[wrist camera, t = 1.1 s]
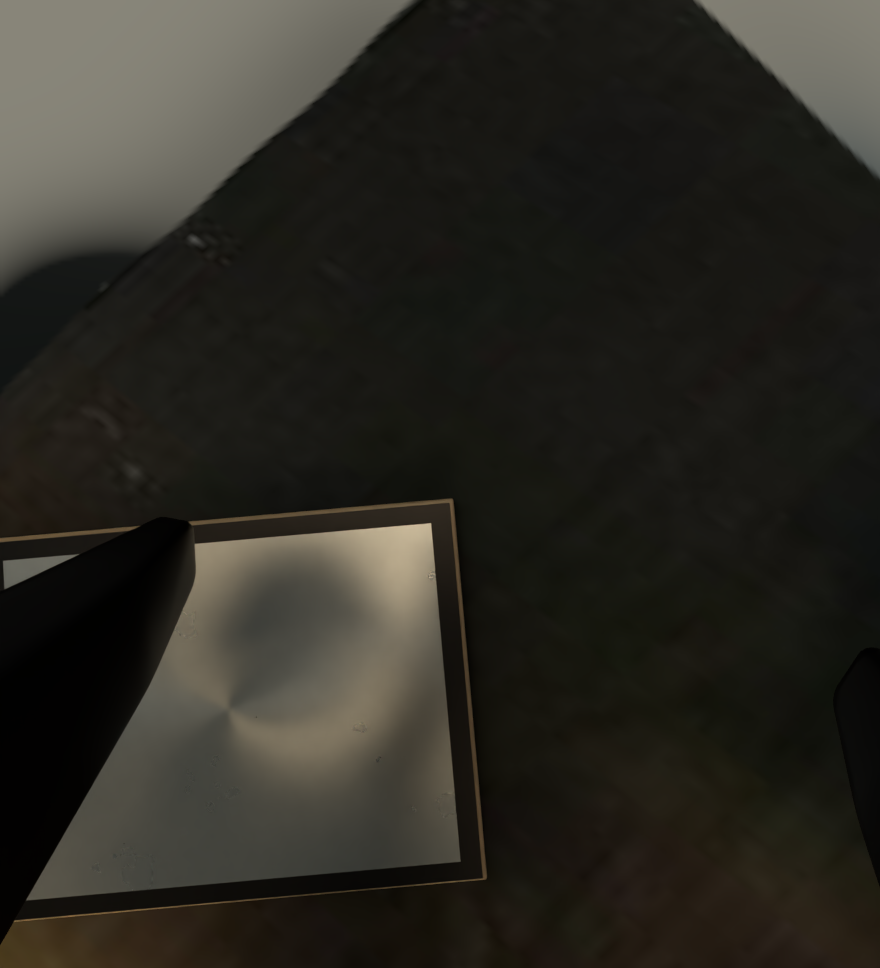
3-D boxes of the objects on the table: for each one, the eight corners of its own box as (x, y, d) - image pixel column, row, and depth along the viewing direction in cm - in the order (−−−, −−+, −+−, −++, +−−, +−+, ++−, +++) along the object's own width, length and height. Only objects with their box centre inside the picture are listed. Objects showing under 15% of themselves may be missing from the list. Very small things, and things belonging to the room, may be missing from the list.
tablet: (485, 868, 24) (487, 883, 23) (15, 910, 24) (-3, 927, 23) (453, 498, 25) (453, 497, 24) (-4, 539, 25) (-24, 539, 24)
